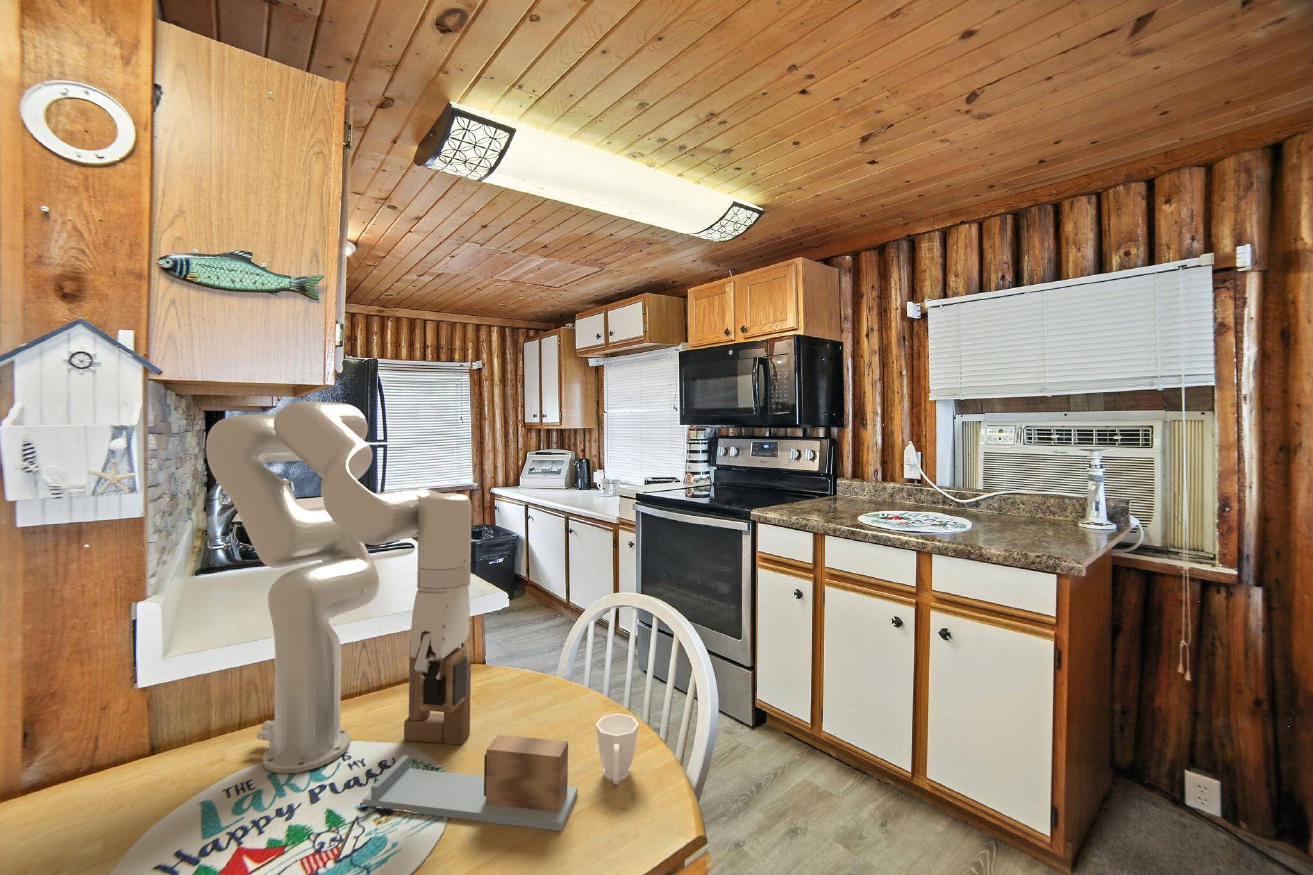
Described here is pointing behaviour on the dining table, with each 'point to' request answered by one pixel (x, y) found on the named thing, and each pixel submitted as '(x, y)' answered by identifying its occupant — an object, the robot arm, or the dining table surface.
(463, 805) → the rail
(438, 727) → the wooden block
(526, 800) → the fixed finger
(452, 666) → the brown rectangular block
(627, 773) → the cup
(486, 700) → the dining table surface
